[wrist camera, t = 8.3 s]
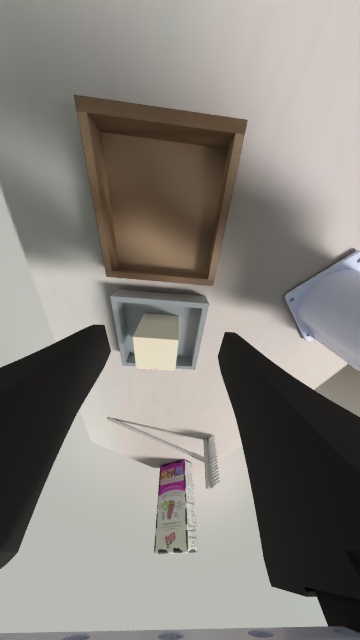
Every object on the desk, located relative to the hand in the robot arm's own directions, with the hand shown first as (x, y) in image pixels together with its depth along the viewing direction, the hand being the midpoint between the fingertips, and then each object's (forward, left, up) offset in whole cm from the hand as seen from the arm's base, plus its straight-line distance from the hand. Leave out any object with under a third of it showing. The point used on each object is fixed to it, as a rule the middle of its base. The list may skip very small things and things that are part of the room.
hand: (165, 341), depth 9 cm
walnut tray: (+6, -4, -10) cm, 12 cm away
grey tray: (-3, +5, -10) cm, 11 cm away
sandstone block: (-3, +5, -9) cm, 11 cm away
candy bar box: (-49, +42, -10) cm, 65 cm away
